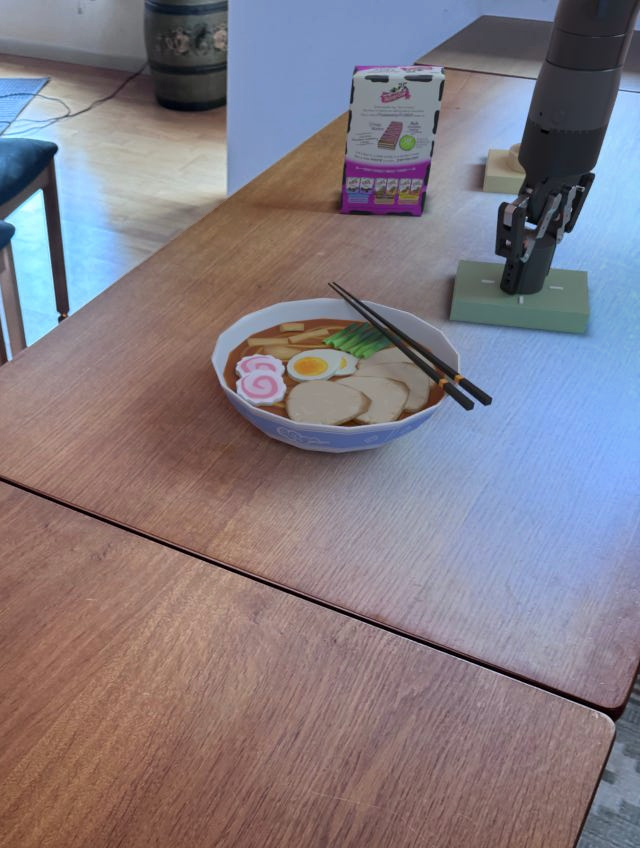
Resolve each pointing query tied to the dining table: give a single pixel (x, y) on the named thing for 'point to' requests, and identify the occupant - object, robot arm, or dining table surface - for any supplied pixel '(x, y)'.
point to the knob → (537, 264)
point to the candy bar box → (390, 139)
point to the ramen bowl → (338, 372)
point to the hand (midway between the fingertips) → (523, 283)
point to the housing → (503, 171)
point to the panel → (520, 299)
